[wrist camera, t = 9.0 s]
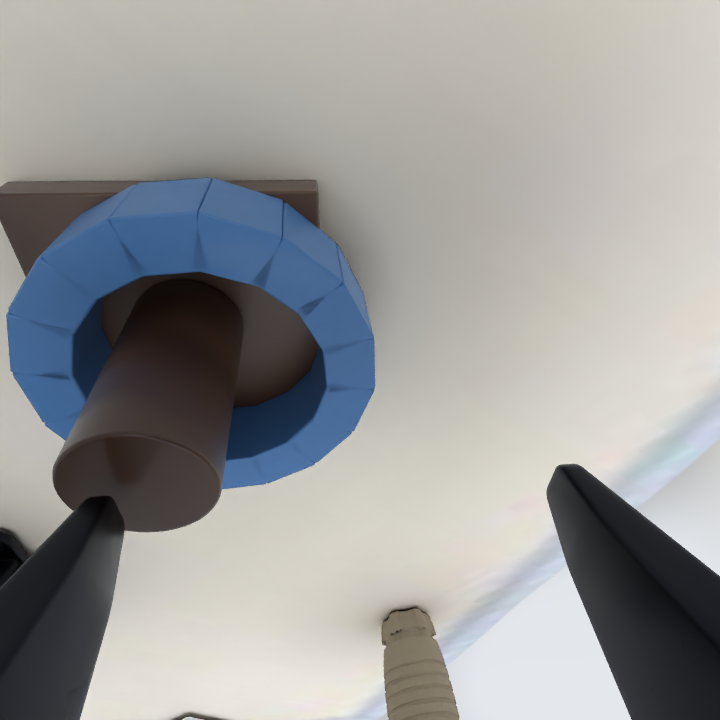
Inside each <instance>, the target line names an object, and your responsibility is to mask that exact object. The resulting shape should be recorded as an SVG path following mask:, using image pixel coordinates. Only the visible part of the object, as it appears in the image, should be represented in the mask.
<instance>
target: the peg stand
mask: <svg viewBox="0 0 720 720" xmlns="http://www.w3.org/2000/svg"><path fill="white" fill-rule="evenodd" d="M142 182H156V181H104V182H7V183H6V184H4V185H3V186H1V187H0V221H1V223H2V225H3V228H4V230H5V232H6V234H7V236H8V239H9V241H10V243H11V245H12V247H13V250H14V252H15V254H16V256H17V258H18V261H19V263H20V265H21V267H22V269H23V272H24V274H25V276H26V277H27V275H28V274H29V272H30V270H31V268H32V267H33V265H34V263H35V261H36V260H37V258H38V257H39V256H40V255H41V254H42V253H43V252H44V251H45V250H46V249H47V248H48V247H49V246H50V245H51V244H52V243H53V241H54V240H55V239H56V238H57V237H58V236H59V235H60V234H61V233H62V232H63V231H64V230H65V229H66V228H67V227H68V226H69V225H70V224H71V223H72V222H73V221H74V220H75V219H76V218H77V217H78V216H79V215H80V214H82V213H83V212H85V211H87V210H89V209H91V208H92V207H94V206H96V205H98V204H100V203H101V202H103V201H105V200H107V199H109V198H110V197H112V196H114V195H116V194H118V193H119V192H121V191H123V190H125V189H127V188H128V187H130V186H132V185H137V184H138V183H142ZM225 182H228V183H231V184H235V185H238V186H241V187H244V188H247V189H250V190H253V191H257V192H260V193H263V194H266V195H269V196H272V197H275V198H279V199H282V200H283V203H288V204H289V205H290V206H291V207H293V208H294V209H295V210H296V211H298V212H299V213H300V214H301V215H302V216H304V217H305V218H306V219H307V220H309V221H310V222H311V223H312V224H314V225H315V226H316V227H317V228H319V199H318V187H317V182H316V181H315V180H264V181H225ZM101 326H102V328H103V331H104V333H105V335H106V337H107V339H108V342H109V344H110V346H111V348H112V351H111V353H110V355H109V357H108V359H107V361H106V363H105V365H104V367H103V369H102V371H101V373H100V374H99V376H98V378H97V380H96V382H95V384H94V386H93V388H92V390H91V392H90V394H89V396H88V398H87V400H86V402H85V404H84V406H83V408H82V410H81V412H80V414H79V416H78V418H77V420H76V422H75V424H74V426H73V428H72V430H71V432H70V434H69V436H68V438H67V440H66V442H65V444H64V446H63V448H62V450H61V452H60V454H59V456H58V457H57V460H56V462H55V464H54V467H53V483H54V487H55V490H56V492H57V494H58V495H59V497H60V498H61V499H62V501H63V502H64V503H65V504H66V505H67V506H68V507H70V508H71V509H72V510H73V511H75V510H76V509H77V508H78V507H79V506H80V504H81V503H82V502H83V501H85V500H86V499H87V498H89V497H93V496H111V497H113V499H114V500H115V502H116V504H117V507H118V509H119V511H120V513H121V515H122V517H123V519H124V525H125V529H124V530H125V531H134V532H159V531H167V530H172V529H177V528H180V527H184V526H187V525H189V524H192V523H194V522H196V521H198V520H200V519H201V518H202V517H204V516H205V515H207V514H208V513H209V512H210V511H211V510H212V508H213V507H214V506H215V505H216V503H217V501H218V499H219V497H220V494H221V490H222V483H223V475H224V468H225V461H226V454H227V447H228V440H229V433H230V426H231V419H232V412H233V408H237V407H247V406H256V405H258V404H261V403H263V402H265V401H268V400H270V399H272V398H274V397H277V396H279V395H281V394H284V393H286V392H288V391H289V390H290V389H291V388H293V387H294V386H295V385H296V384H297V383H298V382H299V381H300V380H301V379H302V378H303V377H304V376H305V375H306V374H307V373H308V372H309V371H310V370H311V367H312V365H313V362H314V359H315V357H316V354H317V352H318V349H319V345H318V343H317V342H316V340H315V339H314V337H313V336H312V334H311V333H310V331H309V329H308V328H307V326H306V325H305V323H304V322H303V320H302V319H301V317H300V316H299V314H298V313H296V312H295V311H293V310H292V309H290V308H289V307H287V306H286V305H284V304H283V303H282V302H280V301H279V300H277V299H276V298H274V297H273V296H271V295H270V294H268V293H267V292H265V291H264V290H262V289H261V288H259V287H257V286H253V285H250V284H246V283H242V282H238V281H234V280H230V279H226V278H222V277H218V276H215V275H211V274H207V273H203V272H190V273H178V274H166V275H155V276H143V277H141V278H139V279H137V280H135V281H133V282H131V283H129V284H127V285H125V286H123V287H121V288H119V289H118V290H116V291H114V292H112V293H110V294H108V295H106V296H104V297H103V307H102V325H101Z"/></svg>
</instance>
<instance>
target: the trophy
mask: <svg viewBox="0 0 720 720" xmlns="http://www.w3.org/2000/svg"><path fill="white" fill-rule="evenodd" d="M181 720H203V719H197V718H193V717H186V718H184V719H181Z"/></svg>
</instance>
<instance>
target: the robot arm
mask: <svg viewBox="0 0 720 720" xmlns="http://www.w3.org/2000/svg"><path fill="white" fill-rule="evenodd" d="M547 500H548V503H549V507H550V510H551V513H552V516H553V520H554V523H555V526H556V530H557V533H558V536H559V540H560V543H561V546H562V550H563V553H564V556H565V559H566V562H567V565H568V568H569V571H570V573H571V576H572V578H573V581H574V583H575V586H576V588H577V590H578V593H579V595H580V597H581V600H582V602H583V605H584V607H585V609H586V612H587V614H588V616H589V619H590V621H591V624H592V626H593V628H594V631H595V633H596V636H597V638H598V640H599V643H600V645H601V648H602V650H603V652H604V655H605V657H606V660H607V662H608V664H609V667H610V669H611V672H612V674H613V676H614V679H615V681H616V683H617V686H618V688H619V691H620V693H621V695H622V698H623V700H624V702H625V705H626V707H627V709H628V712H629V714H630V717H631V719H632V720H720V576H719V575H717V574H716V573H715V572H714V571H712V570H711V569H710V568H709V567H707V566H706V565H705V564H704V563H702V562H701V561H700V560H698V559H697V558H696V557H695V556H694V555H692V554H691V553H690V552H688V551H687V550H686V549H685V548H683V547H682V546H681V545H680V544H678V543H677V542H676V541H675V540H673V539H672V538H671V537H669V536H668V535H667V534H666V533H665V532H663V531H662V530H661V529H659V528H658V527H657V526H656V525H655V524H653V523H652V522H651V521H650V520H648V519H647V518H646V517H644V516H643V515H642V514H641V513H639V512H638V511H637V510H636V509H634V508H633V507H632V506H631V505H629V504H628V503H627V502H626V501H624V500H623V499H622V498H621V497H619V496H618V495H617V494H616V493H614V492H613V491H612V490H611V489H609V488H608V487H607V486H605V485H604V484H603V483H602V482H600V481H599V480H598V479H597V478H595V477H594V476H593V475H592V474H590V473H589V472H588V471H587V470H585V469H584V468H583V467H581V466H580V465H578V464H563V465H559V466H557V467H556V469H555V471H554V473H553V476H552V478H551V480H550V482H549V485H548V487H547ZM124 529H125V525H124V519H123V517H122V515H121V513H120V511H119V509H118V507H117V504H116V502H115V500H114V499H113V497H111V496H93V497H89V498H87V499H86V500H85V501H83V502H82V503H81V504H80V506H79V507H78V508H77V509H76V510H75V511H74V512H73V513H72V514H71V515H70V516H69V517H68V518H67V519H66V520H65V521H64V522H63V523H62V524H61V525H60V526H59V527H58V528H57V529H56V530H55V531H54V533H53V534H52V535H51V536H50V537H49V538H48V539H47V540H46V541H45V542H44V543H43V544H42V545H41V546H40V547H39V548H38V549H37V550H36V551H35V552H34V553H33V554H32V555H31V556H30V557H29V556H28V555H27V554H26V552H25V551H24V550H23V548H22V547H21V546H20V544H19V543H18V542H17V540H16V539H15V538H14V537H13V536H12V535H10V534H8V533H4V532H0V720H80V716H81V713H82V710H83V706H84V703H85V699H86V696H87V692H88V689H89V685H90V682H91V678H92V675H93V671H94V668H95V664H96V661H97V657H98V654H99V650H100V647H101V643H102V640H103V636H104V633H105V629H106V626H107V622H108V618H109V614H110V610H111V605H112V600H113V595H114V589H115V583H116V577H117V572H118V566H119V560H120V554H121V548H122V542H123V536H124Z"/></svg>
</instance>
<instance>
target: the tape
mask: <svg viewBox="0 0 720 720" xmlns="http://www.w3.org/2000/svg"><path fill="white" fill-rule="evenodd" d="M190 272H203V273H207V274H211V275H215V276H218V277H222V278H226V279H230V280H234V281H238V282H242V283H246V284H250V285H253V286H257V287H259V288H261V289H262V290H264V291H265V292H267V293H268V294H270V295H271V296H273V297H274V298H276V299H277V300H279V301H280V302H282V303H283V304H284V305H286V306H287V307H289V308H290V309H292V310H293V311H295V312H296V313H298V314H299V316H300V317H301V319H302V320H303V322H304V323H305V325H306V326H307V328H308V329H309V331H310V333H311V334H312V336H313V337H314V339H315V340H316V342H317V343H318V345H319V349H318V352H317V354H316V357H315V359H314V362H313V365H312V367H311V370H310V371H309V372H308V373H307V374H306V375H305V376H304V377H303V378H302V379H301V380H300V381H299V382H298V383H297V384H296V385H295V386H294V387H293V388H291V389H290V390H289V391H288V392H286V393H284V394H281V395H279V396H277V397H274V398H272V399H270V400H268V401H265V402H263V403H261V404H258V405H256V406H247V407H237V408H233V412H232V419H231V426H230V433H229V440H228V447H227V454H226V461H225V468H224V475H223V483H222V489H228V488H236V487H245V486H253V485H262V484H266V482H267V483H270V482H273V481H275V480H278V479H280V478H283V477H285V476H288V475H290V474H293V473H295V472H298V471H300V470H303V469H305V468H308V467H310V466H313V465H314V464H315V463H316V462H318V461H319V460H321V459H322V458H323V457H324V456H325V455H327V454H328V453H329V452H330V451H331V450H332V449H334V448H335V447H336V446H337V445H338V444H340V443H341V442H342V441H343V440H344V439H346V438H347V437H348V436H349V435H350V434H351V433H352V431H354V430H355V428H356V426H357V424H358V422H359V420H360V418H361V416H362V414H363V412H364V410H365V408H366V406H367V404H368V402H369V400H370V398H371V396H372V394H373V392H374V388H375V353H374V336H373V332H372V328H371V324H370V320H369V316H368V311H367V307H366V303H365V299H364V295H363V291H362V289H361V288H360V286H359V284H358V282H357V280H356V278H355V276H354V274H353V272H352V270H351V269H350V267H349V265H348V263H347V261H346V259H345V257H344V255H343V253H342V252H341V250H340V248H339V246H338V245H337V244H335V242H334V241H333V240H332V239H331V238H330V237H328V236H327V235H326V234H325V233H323V232H322V231H321V230H320V229H319V228H317V227H316V226H315V225H314V224H312V223H311V222H310V221H309V220H307V219H306V218H305V217H304V216H302V215H301V214H300V213H299V212H298V211H296V210H295V209H294V208H293V207H291V206H290V205H289V204H288V203H283V200H282V199H279V198H275V197H272V196H269V195H266V194H263V193H260V192H257V191H253V190H250V189H247V188H244V187H241V186H238V185H235V184H231V183H228V182H225V181H222V180H219V179H216V178H213V180H211V178H198V179H184V180H170V181H156V182H142V183H138V184H137V185H132V186H130V187H128V188H127V189H125V190H123V191H121V192H119V193H118V194H116V195H114V196H112V197H110V198H109V199H107V200H105V201H103V202H101V203H100V204H98V205H96V206H94V207H92V208H91V209H89V210H87V211H85V212H83V213H82V214H80V215H79V216H78V217H77V218H76V219H75V220H74V221H73V222H72V223H71V224H70V225H69V226H68V227H67V228H66V229H65V230H64V231H63V232H62V233H61V234H60V235H59V236H58V237H57V238H56V239H55V240H54V241H53V243H52V244H51V245H50V246H49V247H48V248H47V249H46V250H45V251H44V252H43V253H42V254H41V255H40V256H39V257H38V258H37V260H36V261H35V263H34V265H33V267H32V268H31V270H30V272H29V274H28V275H27V277H26V279H25V281H24V282H23V284H22V286H21V287H20V289H19V291H18V293H17V294H16V296H15V298H14V300H13V301H12V303H11V305H10V307H9V311H8V313H7V315H6V317H7V330H8V343H9V355H10V368H11V372H13V376H14V378H15V379H16V381H17V382H18V384H19V385H20V387H21V388H22V390H23V392H24V393H25V395H26V396H27V398H28V399H29V401H30V402H31V404H32V406H33V407H34V409H35V410H36V412H37V413H38V415H39V416H40V418H41V420H42V421H43V422H45V425H46V426H47V427H48V428H50V429H51V430H52V431H54V432H55V433H56V434H58V435H59V436H60V437H62V438H63V439H64V440H67V438H68V436H69V434H70V432H71V430H72V428H73V426H74V424H75V422H76V420H77V418H78V416H79V414H80V412H81V410H82V408H83V406H84V404H85V402H86V400H87V398H88V396H89V394H90V392H91V390H92V388H93V386H94V384H95V382H96V380H97V378H98V376H99V374H100V373H101V371H102V369H103V367H104V365H105V363H106V361H107V359H108V357H109V355H110V353H111V351H112V348H111V346H110V344H109V342H108V339H107V337H106V335H105V333H104V331H103V328H102V326H101V325H102V307H103V297H104V296H106V295H108V294H110V293H112V292H114V291H116V290H118V289H119V288H121V287H123V286H125V285H127V284H129V283H131V282H133V281H135V280H137V279H139V278H141V277H143V276H155V275H166V274H178V273H190Z"/></svg>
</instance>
